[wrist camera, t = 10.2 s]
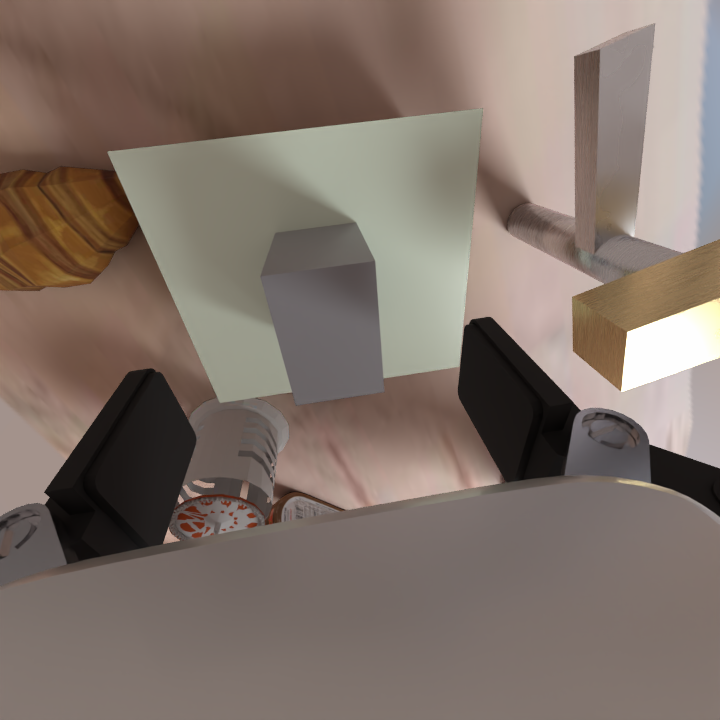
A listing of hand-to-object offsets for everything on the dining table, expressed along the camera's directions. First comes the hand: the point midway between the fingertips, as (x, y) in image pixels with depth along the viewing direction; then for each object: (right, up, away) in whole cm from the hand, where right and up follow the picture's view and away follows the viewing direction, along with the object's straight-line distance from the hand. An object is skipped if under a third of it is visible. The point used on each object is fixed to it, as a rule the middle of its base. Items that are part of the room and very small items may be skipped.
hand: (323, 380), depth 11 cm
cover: (-1, +6, +9) cm, 10 cm away
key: (+12, +14, +12) cm, 22 cm away
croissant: (-18, +10, +12) cm, 24 cm away
